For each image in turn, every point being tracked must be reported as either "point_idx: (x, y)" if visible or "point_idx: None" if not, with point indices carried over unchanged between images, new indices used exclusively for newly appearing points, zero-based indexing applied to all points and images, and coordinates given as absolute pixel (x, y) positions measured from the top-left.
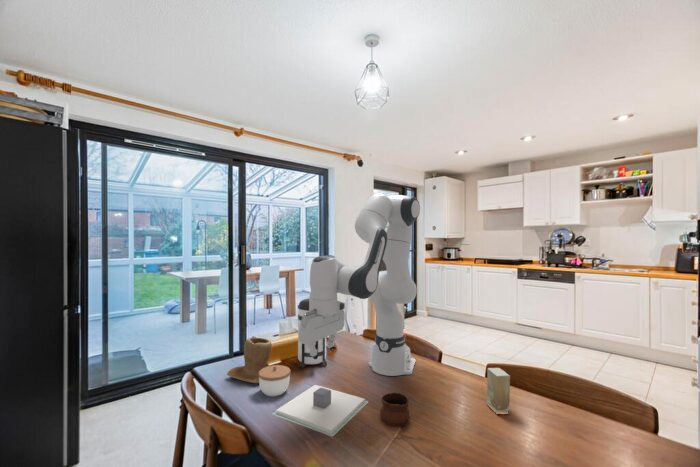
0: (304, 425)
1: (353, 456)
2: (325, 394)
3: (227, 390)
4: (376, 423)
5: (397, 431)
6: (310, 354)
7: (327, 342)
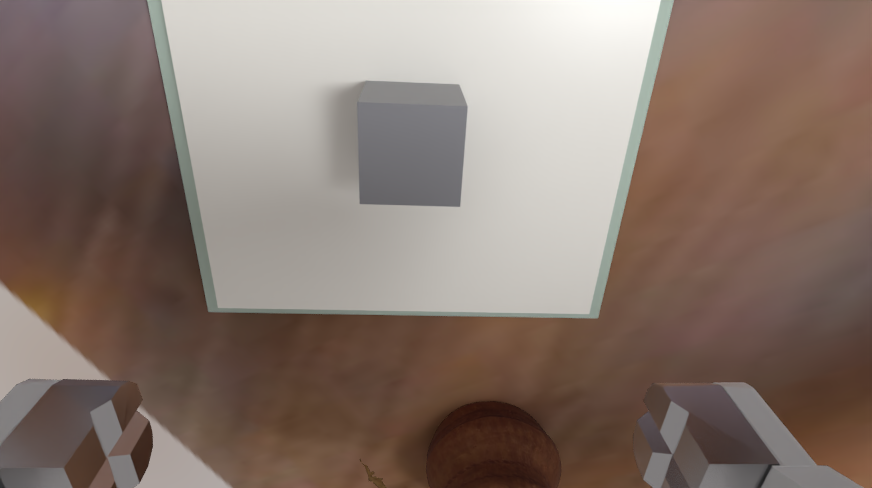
0: (182, 141)
1: (179, 412)
2: (381, 204)
3: None
4: (430, 400)
5: (418, 471)
6: (20, 397)
7: (696, 447)
